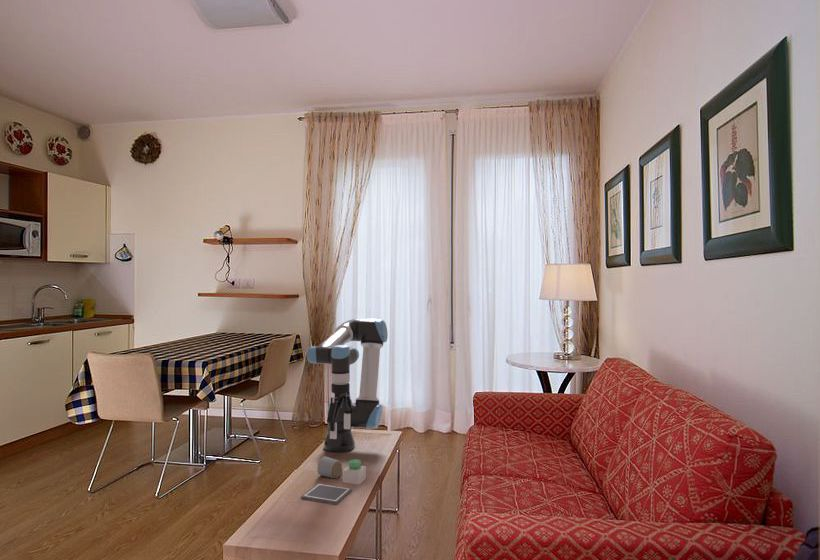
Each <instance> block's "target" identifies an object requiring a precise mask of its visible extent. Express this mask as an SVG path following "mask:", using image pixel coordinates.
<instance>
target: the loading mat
mask: <svg viewBox="0 0 820 560" xmlns="http://www.w3.org/2000/svg"><path fill="white" fill-rule="evenodd" d="M352 491H353V488H351V487H345V486H337V485H333V484H332V485H331V484H326V483H325V484H324V483H320V482H319V483H317V484H315V485H314V486H313V487H312V488H310V489H309V490H307V491H306V492H305V493H303V494H302V495H301V496H300V499H302V500H308V501H312V500H313V501H314V502H319V503H324V504H330V503H331V505H338V504H339V503H340V502H342V500H344V499H345V498H346V497H347V496H348V495H350V494H351V492H352ZM313 501H312V502H313Z"/></svg>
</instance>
